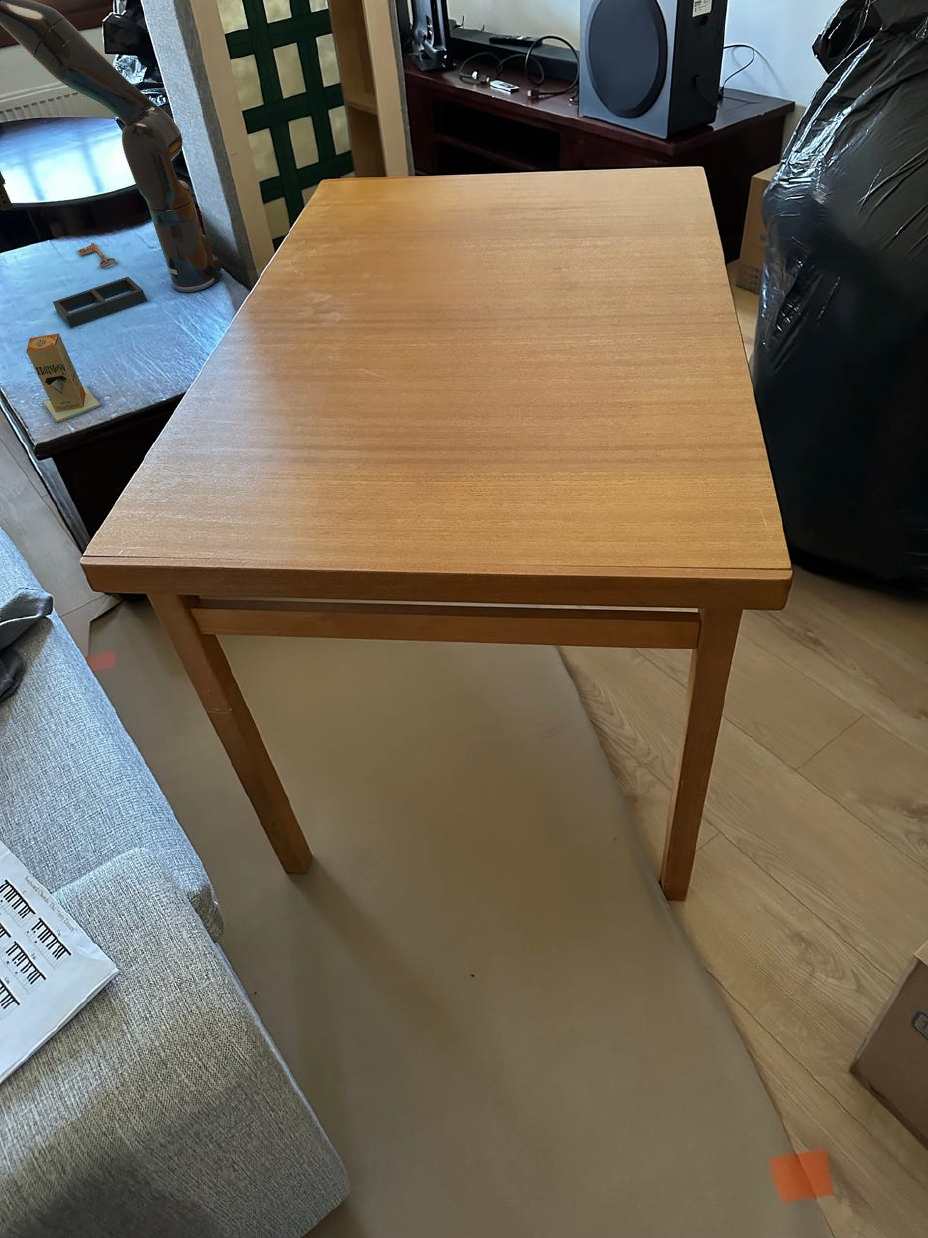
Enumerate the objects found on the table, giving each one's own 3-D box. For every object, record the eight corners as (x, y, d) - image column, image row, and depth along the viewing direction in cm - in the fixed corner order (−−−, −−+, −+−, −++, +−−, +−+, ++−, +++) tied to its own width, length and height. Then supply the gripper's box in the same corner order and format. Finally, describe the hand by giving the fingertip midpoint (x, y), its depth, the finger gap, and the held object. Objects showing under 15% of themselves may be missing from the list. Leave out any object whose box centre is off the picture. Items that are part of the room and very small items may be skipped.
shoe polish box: (83, 407, 153) (55, 346, 144) (55, 412, 152) (26, 351, 143) (85, 393, 156) (58, 333, 147) (58, 397, 156) (29, 337, 147)
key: (78, 251, 203) (94, 272, 194) (76, 248, 202) (92, 268, 193) (101, 242, 205) (118, 263, 195) (99, 239, 204) (116, 259, 195)
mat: (86, 388, 158) (85, 386, 158) (100, 406, 154) (99, 403, 153) (44, 404, 155) (43, 401, 155) (57, 422, 151) (56, 420, 150)
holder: (132, 287, 187) (128, 276, 185) (147, 300, 182) (143, 289, 180) (57, 312, 181) (52, 301, 179) (70, 327, 176) (65, 316, 174)
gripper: (-80, 95, 141) (-31, 197, 152) (-60, 113, 132) (-11, 219, 144) (-34, 85, 143) (10, 185, 155) (-12, 102, 135) (32, 207, 147)
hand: (0, 202), depth 150 cm, fingers open, 8 cm apart
